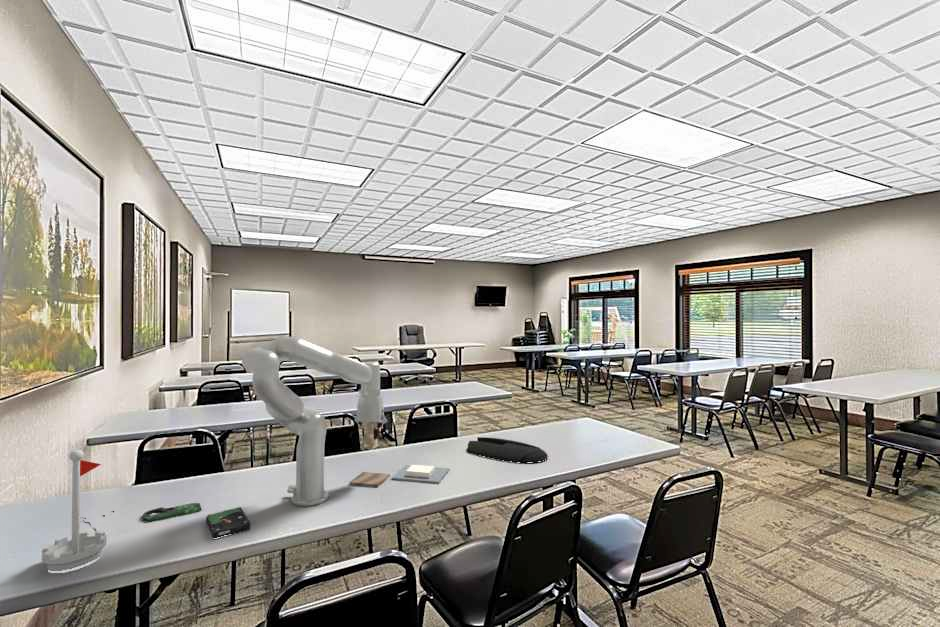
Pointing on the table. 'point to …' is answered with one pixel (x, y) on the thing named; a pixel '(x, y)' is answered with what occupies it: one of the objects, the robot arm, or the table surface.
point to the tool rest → (369, 479)
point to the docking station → (506, 450)
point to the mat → (434, 478)
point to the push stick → (369, 435)
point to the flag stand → (75, 529)
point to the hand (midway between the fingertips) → (370, 437)
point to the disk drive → (227, 522)
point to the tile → (420, 471)
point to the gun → (171, 512)
